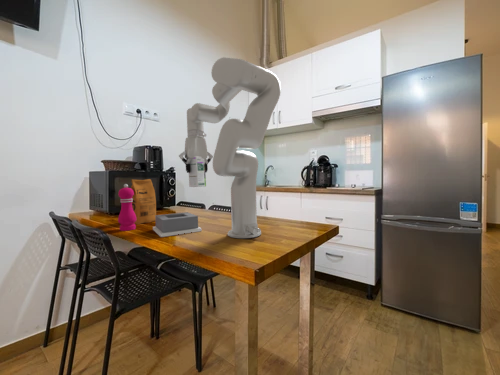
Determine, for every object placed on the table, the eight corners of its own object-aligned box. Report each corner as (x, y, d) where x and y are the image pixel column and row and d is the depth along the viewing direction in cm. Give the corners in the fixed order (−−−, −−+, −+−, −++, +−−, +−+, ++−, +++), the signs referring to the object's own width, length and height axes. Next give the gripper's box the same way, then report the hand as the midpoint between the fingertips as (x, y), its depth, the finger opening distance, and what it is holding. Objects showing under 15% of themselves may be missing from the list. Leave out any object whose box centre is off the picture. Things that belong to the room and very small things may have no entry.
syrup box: (197, 187, 109) (196, 155, 108) (188, 187, 112) (187, 156, 111) (206, 186, 114) (205, 156, 113) (197, 186, 117) (196, 157, 116)
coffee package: (125, 223, 119) (123, 179, 118) (148, 219, 129) (146, 179, 128) (135, 225, 113) (133, 179, 112) (159, 221, 123) (157, 178, 122)
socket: (201, 231, 97) (201, 216, 97) (160, 237, 88) (160, 220, 88) (189, 224, 110) (188, 211, 110) (152, 229, 102) (152, 215, 102)
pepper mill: (140, 227, 107) (138, 183, 106) (130, 231, 100) (128, 184, 99) (125, 227, 108) (123, 183, 107) (114, 231, 101) (112, 184, 100)
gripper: (209, 137, 120) (210, 172, 120) (175, 135, 110) (176, 173, 111) (215, 135, 113) (217, 172, 114) (179, 132, 104) (181, 172, 105)
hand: (197, 172), depth 113 cm, fingers closed on syrup box, 7 cm apart
